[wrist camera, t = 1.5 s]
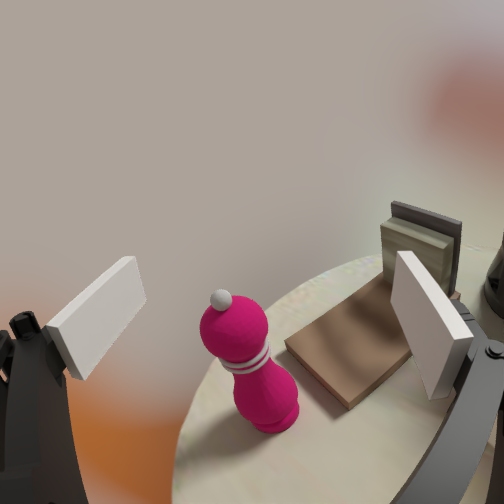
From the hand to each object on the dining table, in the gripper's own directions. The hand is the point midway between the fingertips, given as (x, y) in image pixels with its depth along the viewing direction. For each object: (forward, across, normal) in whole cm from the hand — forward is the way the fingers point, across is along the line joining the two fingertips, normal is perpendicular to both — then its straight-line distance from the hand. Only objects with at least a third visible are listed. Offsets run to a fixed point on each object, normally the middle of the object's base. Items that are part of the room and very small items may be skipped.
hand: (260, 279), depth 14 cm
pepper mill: (+11, -1, -25) cm, 27 cm away
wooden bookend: (+22, +13, -20) cm, 33 cm away
